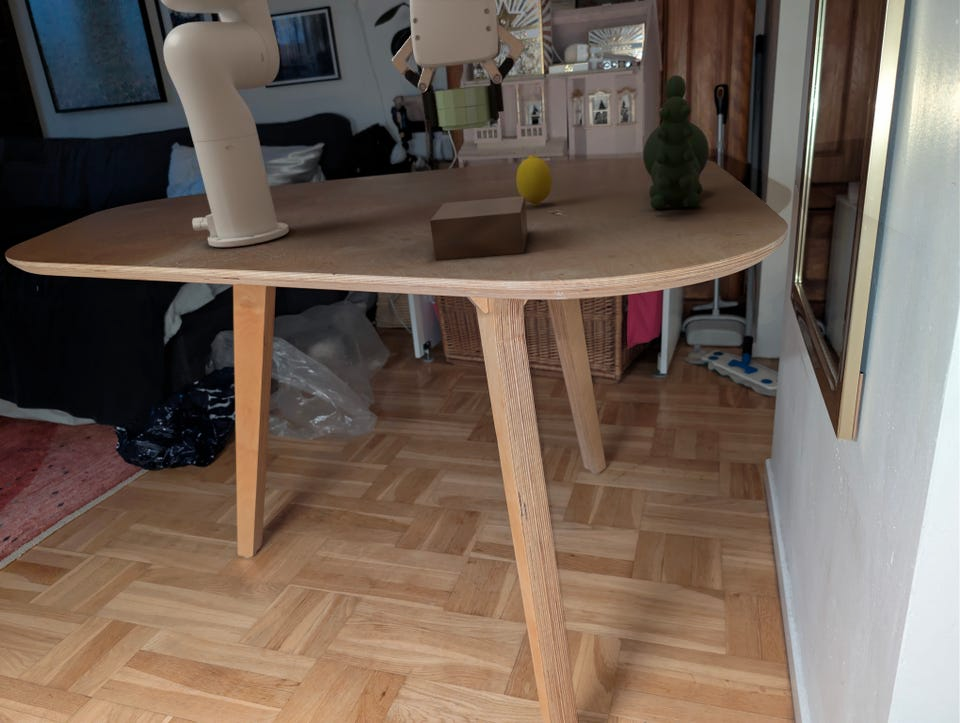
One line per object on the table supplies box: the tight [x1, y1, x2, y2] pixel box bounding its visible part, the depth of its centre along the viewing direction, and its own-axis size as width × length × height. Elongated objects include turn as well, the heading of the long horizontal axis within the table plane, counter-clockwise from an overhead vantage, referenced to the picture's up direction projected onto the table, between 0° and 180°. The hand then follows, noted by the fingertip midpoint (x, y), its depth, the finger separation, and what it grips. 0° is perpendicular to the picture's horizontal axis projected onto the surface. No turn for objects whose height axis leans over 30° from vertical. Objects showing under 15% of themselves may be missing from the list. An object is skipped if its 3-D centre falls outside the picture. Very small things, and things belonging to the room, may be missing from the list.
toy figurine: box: [643, 74, 710, 210], centre depth 100 cm, size 9×19×25 cm
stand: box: [429, 196, 528, 261], centre depth 90 cm, size 11×11×5 cm
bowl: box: [433, 84, 494, 132], centre depth 85 cm, size 7×7×4 cm
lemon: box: [515, 154, 552, 207], centre depth 111 cm, size 6×6×8 cm
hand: (465, 121), depth 86 cm, fingers closed on bowl, 6 cm apart
